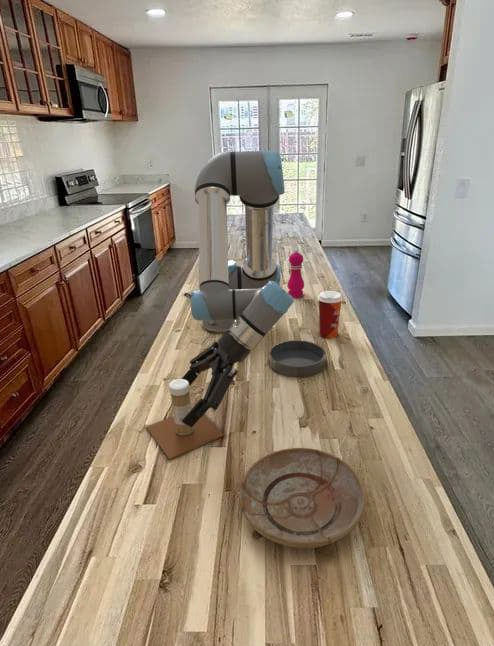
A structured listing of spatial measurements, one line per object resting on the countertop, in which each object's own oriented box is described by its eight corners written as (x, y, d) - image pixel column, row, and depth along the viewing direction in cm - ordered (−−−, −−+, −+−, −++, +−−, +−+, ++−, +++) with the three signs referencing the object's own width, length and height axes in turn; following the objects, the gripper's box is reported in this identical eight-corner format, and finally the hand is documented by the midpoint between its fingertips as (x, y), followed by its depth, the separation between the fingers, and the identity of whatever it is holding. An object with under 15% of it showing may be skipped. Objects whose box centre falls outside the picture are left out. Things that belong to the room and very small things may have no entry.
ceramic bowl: (244, 464, 95) (243, 446, 93) (352, 465, 94) (354, 447, 92) (235, 561, 74) (233, 541, 72) (374, 563, 73) (377, 542, 71)
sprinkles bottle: (195, 424, 108) (189, 377, 102) (193, 436, 103) (187, 388, 98) (176, 425, 107) (170, 378, 102) (173, 437, 103) (167, 389, 98)
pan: (261, 355, 140) (261, 345, 138) (310, 346, 145) (310, 336, 143) (281, 381, 125) (281, 371, 124) (334, 370, 130) (335, 360, 129)
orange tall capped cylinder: (339, 340, 148) (342, 299, 141) (315, 339, 149) (316, 298, 143) (340, 330, 155) (343, 290, 148) (317, 328, 156) (319, 289, 150)
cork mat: (146, 428, 107) (146, 426, 107) (197, 408, 114) (197, 406, 114) (169, 460, 97) (169, 458, 97) (224, 436, 104) (223, 434, 104)
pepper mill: (307, 293, 189) (308, 248, 180) (299, 299, 183) (299, 252, 174) (292, 291, 192) (292, 246, 183) (284, 296, 187) (284, 250, 178)
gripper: (215, 311, 109) (162, 374, 111) (244, 356, 88) (177, 432, 90) (236, 327, 113) (184, 387, 115) (269, 373, 92) (205, 446, 94)
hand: (181, 407), depth 103 cm, fingers open, 13 cm apart
